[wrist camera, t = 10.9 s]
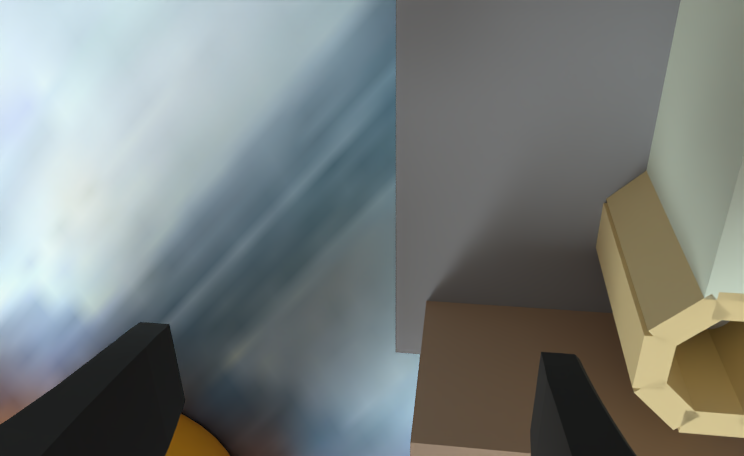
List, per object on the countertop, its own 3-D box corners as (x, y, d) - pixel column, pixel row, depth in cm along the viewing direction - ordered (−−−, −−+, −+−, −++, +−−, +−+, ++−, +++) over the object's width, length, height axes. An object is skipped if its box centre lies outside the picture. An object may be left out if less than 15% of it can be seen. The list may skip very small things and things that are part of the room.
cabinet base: (886, 369, 23) (1028, 564, 17) (398, 333, 25) (372, 498, 19) (1276, -466, 13) (1963, -703, 7) (401, -415, 15) (347, -566, 9)
